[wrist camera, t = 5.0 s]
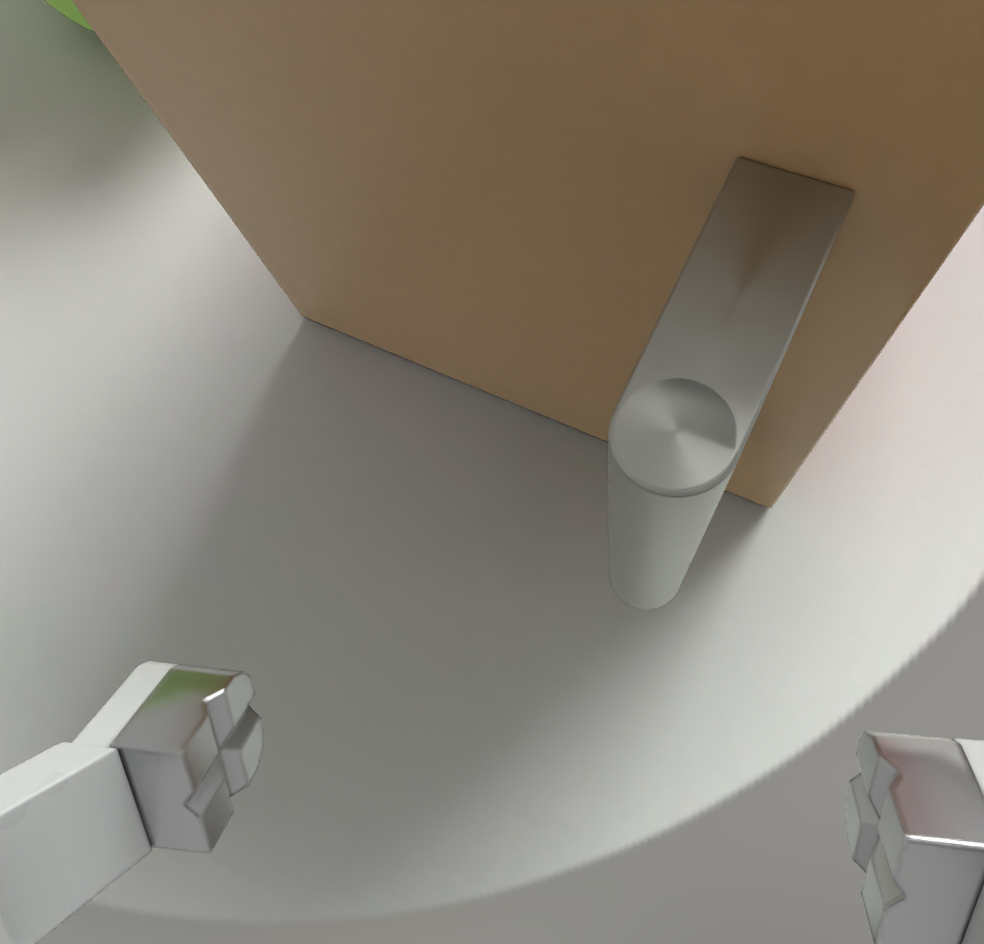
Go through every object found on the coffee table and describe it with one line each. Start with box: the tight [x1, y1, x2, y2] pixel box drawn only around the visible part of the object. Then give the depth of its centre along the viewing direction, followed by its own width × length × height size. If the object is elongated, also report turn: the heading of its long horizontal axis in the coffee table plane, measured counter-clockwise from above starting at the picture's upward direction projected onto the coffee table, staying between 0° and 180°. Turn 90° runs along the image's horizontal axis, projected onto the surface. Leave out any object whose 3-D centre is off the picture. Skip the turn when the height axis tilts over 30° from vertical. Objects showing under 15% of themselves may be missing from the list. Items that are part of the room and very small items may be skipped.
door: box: [72, 0, 984, 609], centre depth 18 cm, size 6×18×20 cm, turn 63°
